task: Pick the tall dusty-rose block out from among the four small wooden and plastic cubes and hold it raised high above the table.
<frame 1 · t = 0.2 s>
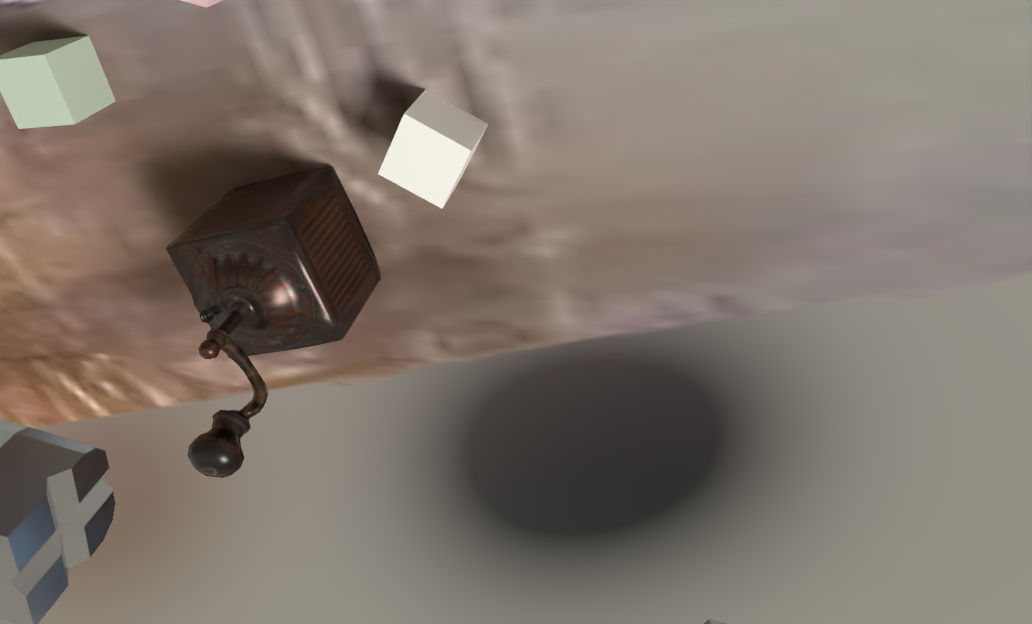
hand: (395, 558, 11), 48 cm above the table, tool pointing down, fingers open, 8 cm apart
manual coffee grinder: (316, 260, 68), on the table
sage block: (75, 71, 63), on the table
off-white block: (443, 135, 60), on the table
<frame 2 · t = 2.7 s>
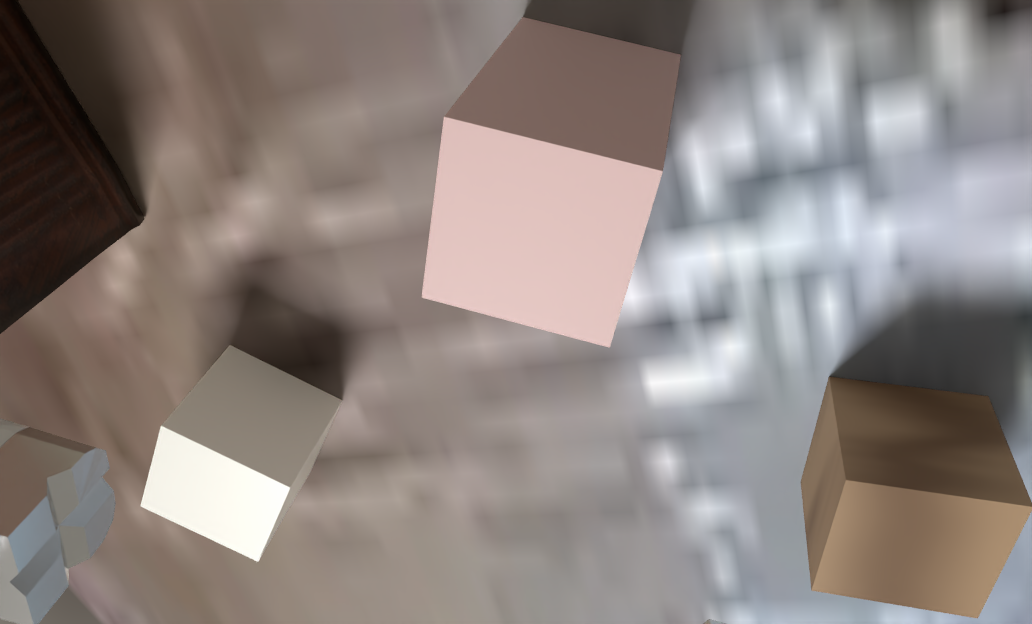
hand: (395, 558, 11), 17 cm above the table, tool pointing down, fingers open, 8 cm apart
off-white block: (272, 410, 35), on the table
dusty-rose block: (583, 112, 25), on the table
walnut block: (888, 440, 29), on the table
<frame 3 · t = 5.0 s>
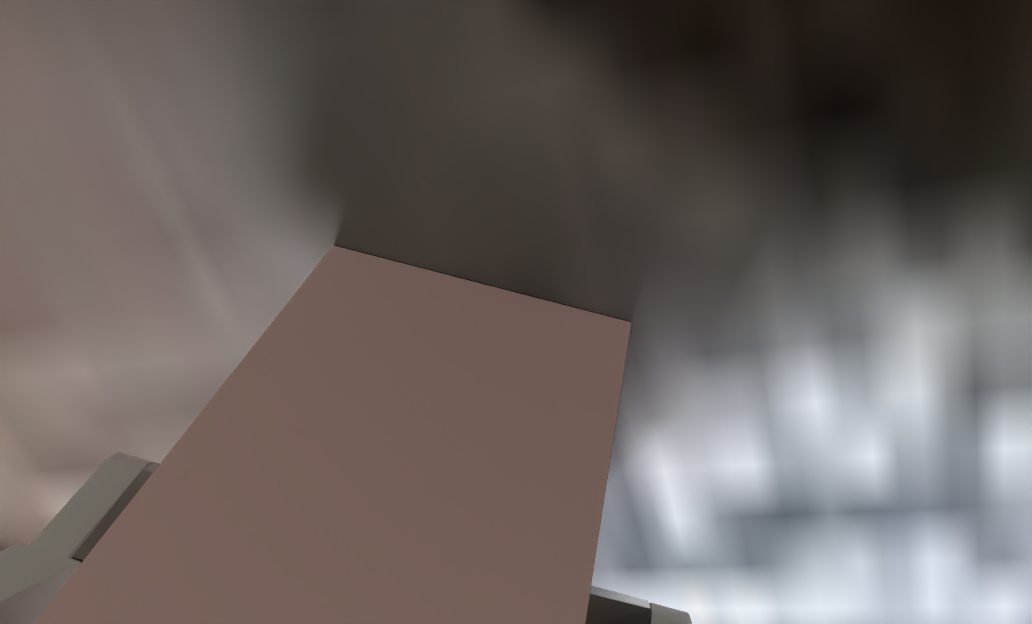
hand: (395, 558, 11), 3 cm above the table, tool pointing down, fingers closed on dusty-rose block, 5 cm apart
dusty-rose block: (460, 397, 14), on the table, touching gripper
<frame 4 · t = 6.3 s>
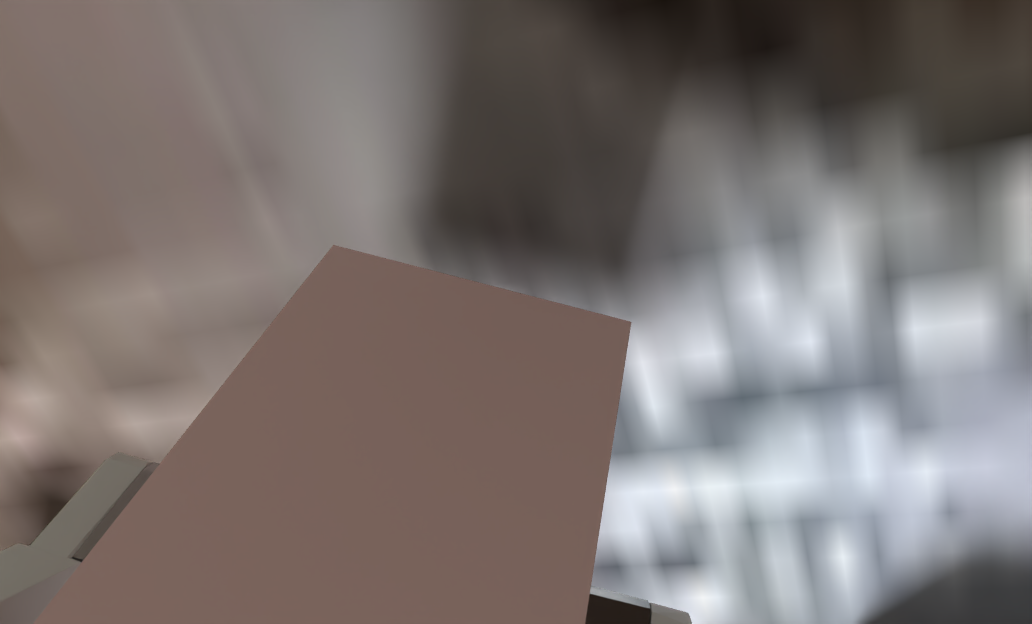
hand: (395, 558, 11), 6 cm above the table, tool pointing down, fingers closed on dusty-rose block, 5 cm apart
dusty-rose block: (460, 397, 14), point 3 cm above the table, touching gripper
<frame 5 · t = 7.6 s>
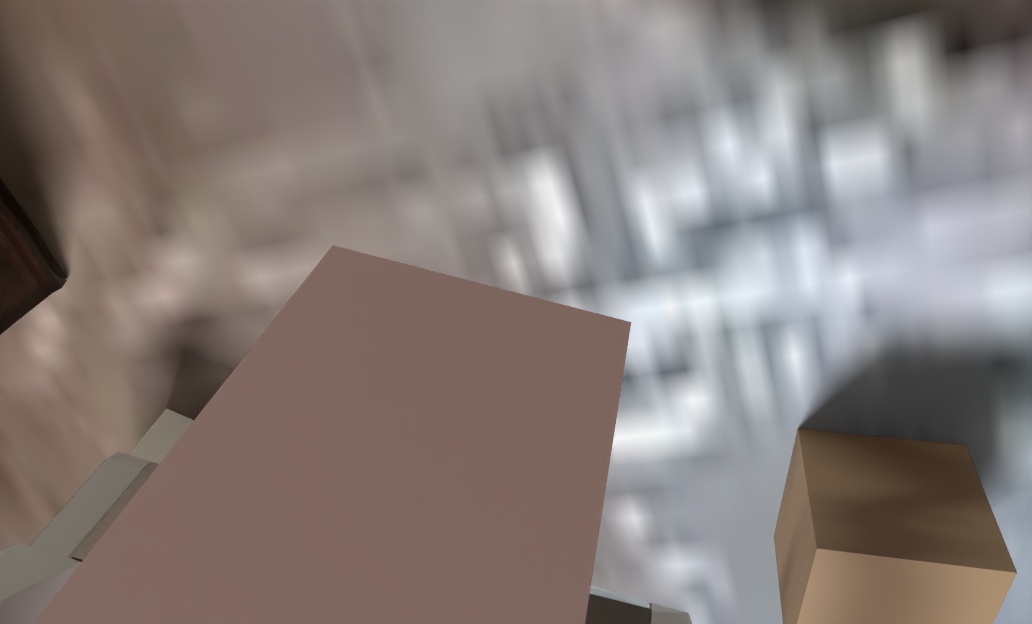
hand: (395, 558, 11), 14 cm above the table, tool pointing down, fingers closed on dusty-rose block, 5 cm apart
off-white block: (216, 474, 33), on the table
dusty-rose block: (460, 397, 14), point 11 cm above the table, touching gripper
walnut block: (863, 491, 27), on the table
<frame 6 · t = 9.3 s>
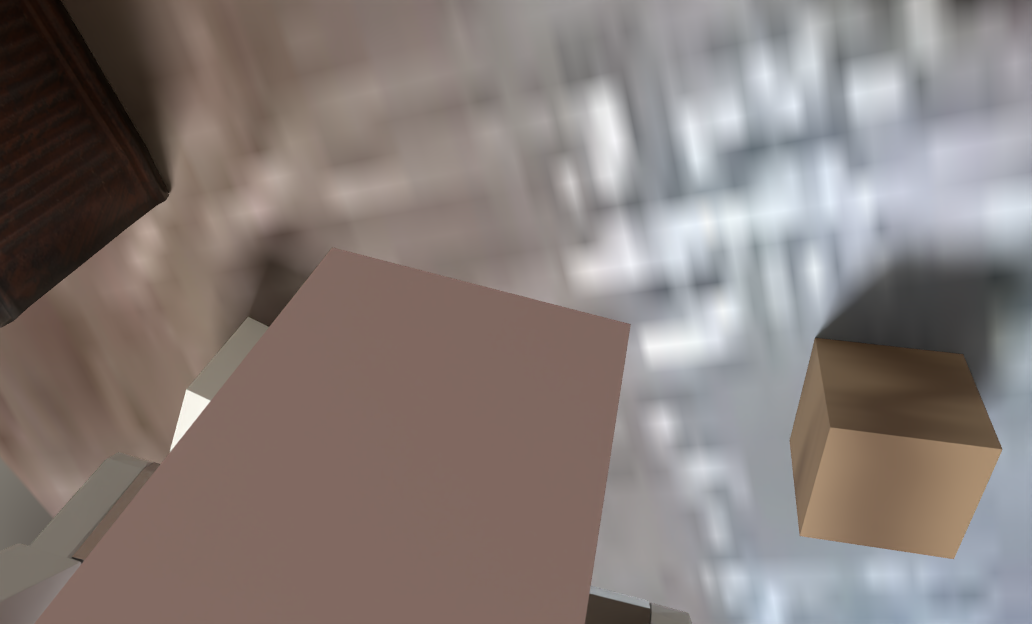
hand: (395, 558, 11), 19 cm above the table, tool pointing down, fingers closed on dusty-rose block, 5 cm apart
off-white block: (288, 380, 36), on the table
dusty-rose block: (459, 399, 14), point 16 cm above the table, touching gripper
walnut block: (870, 398, 31), on the table
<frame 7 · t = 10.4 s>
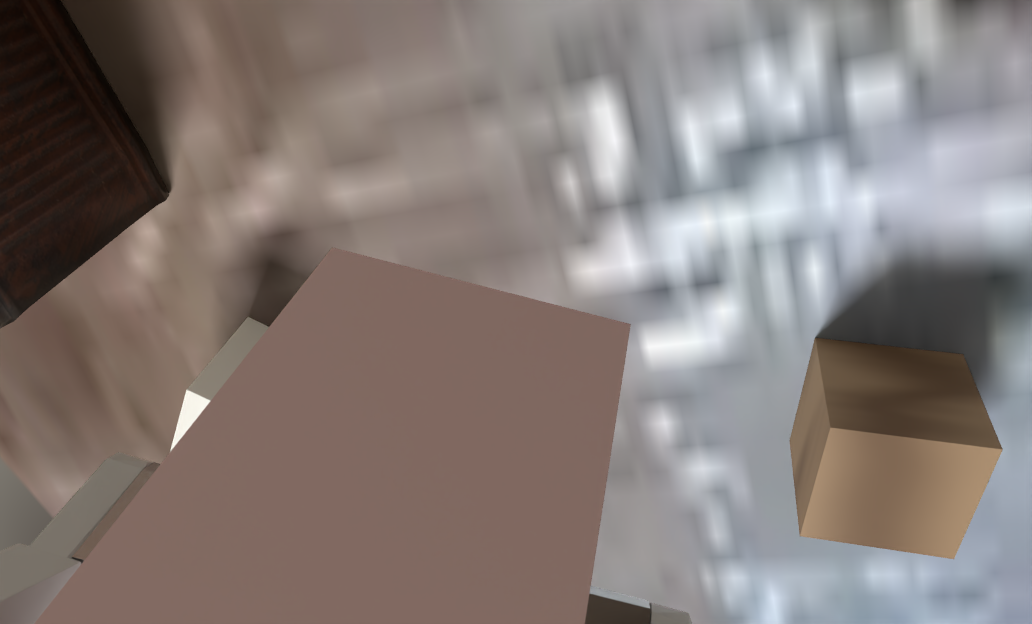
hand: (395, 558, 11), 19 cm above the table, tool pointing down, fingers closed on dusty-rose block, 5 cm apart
off-white block: (288, 380, 36), on the table
dusty-rose block: (459, 399, 14), point 16 cm above the table, touching gripper
walnut block: (870, 398, 31), on the table
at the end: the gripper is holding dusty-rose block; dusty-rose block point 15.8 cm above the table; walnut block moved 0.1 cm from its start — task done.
